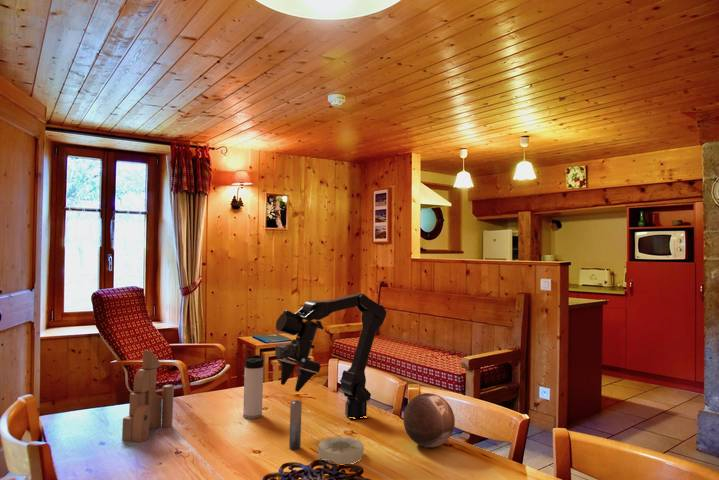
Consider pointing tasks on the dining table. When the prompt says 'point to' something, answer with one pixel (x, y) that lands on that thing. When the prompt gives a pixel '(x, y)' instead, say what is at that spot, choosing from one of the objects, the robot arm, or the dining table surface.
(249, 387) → the travel mug
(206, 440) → the dining table surface
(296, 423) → the metal peg
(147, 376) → the wooden toy
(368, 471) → the dining table surface
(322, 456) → the grey ring
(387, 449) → the dining table surface
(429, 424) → the wooden sphere
